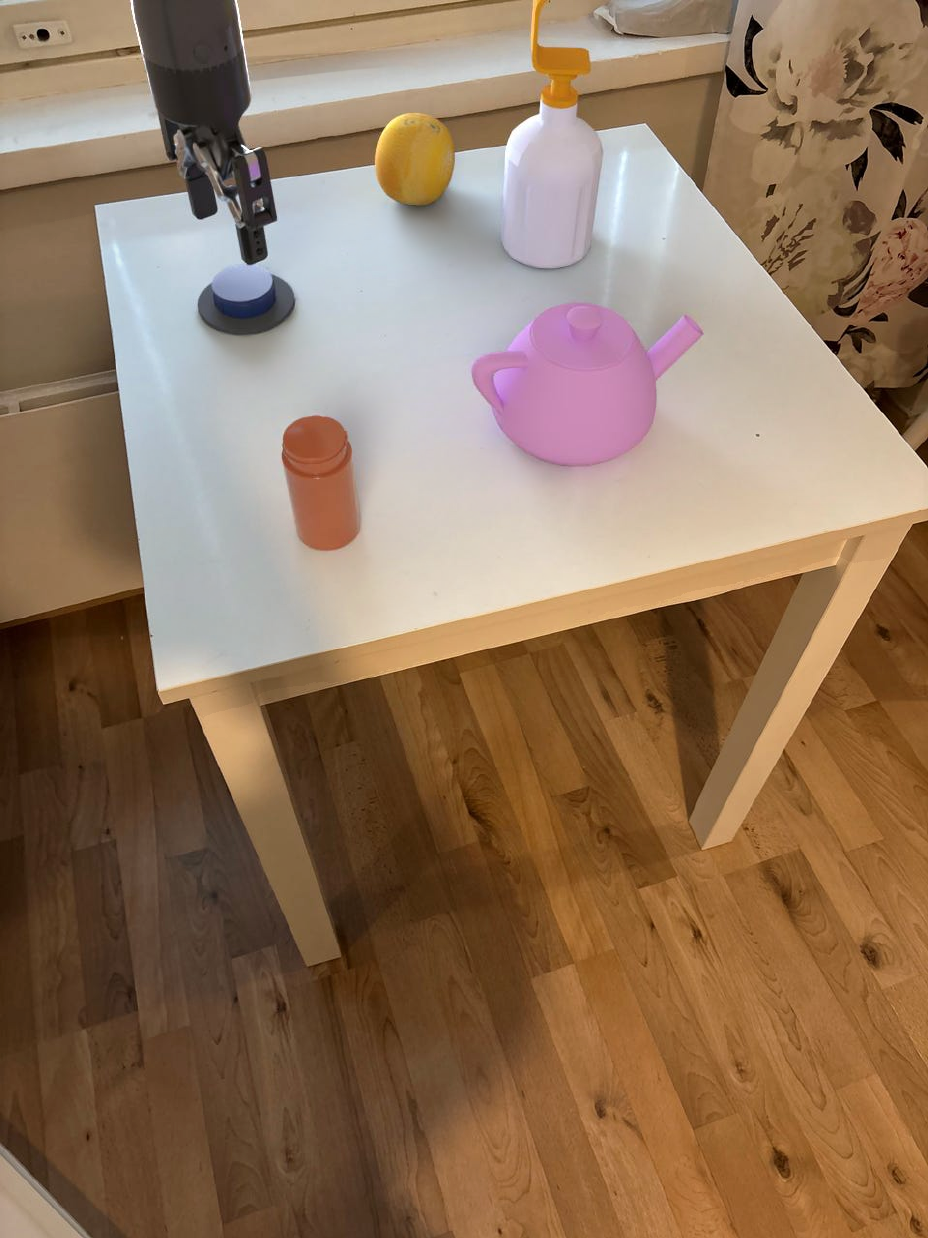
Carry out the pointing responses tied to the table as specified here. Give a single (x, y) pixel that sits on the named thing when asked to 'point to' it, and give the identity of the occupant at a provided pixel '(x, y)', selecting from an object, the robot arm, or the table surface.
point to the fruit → (414, 159)
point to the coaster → (248, 325)
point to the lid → (243, 291)
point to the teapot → (578, 383)
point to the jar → (321, 482)
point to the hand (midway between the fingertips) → (230, 237)
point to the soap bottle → (552, 167)
